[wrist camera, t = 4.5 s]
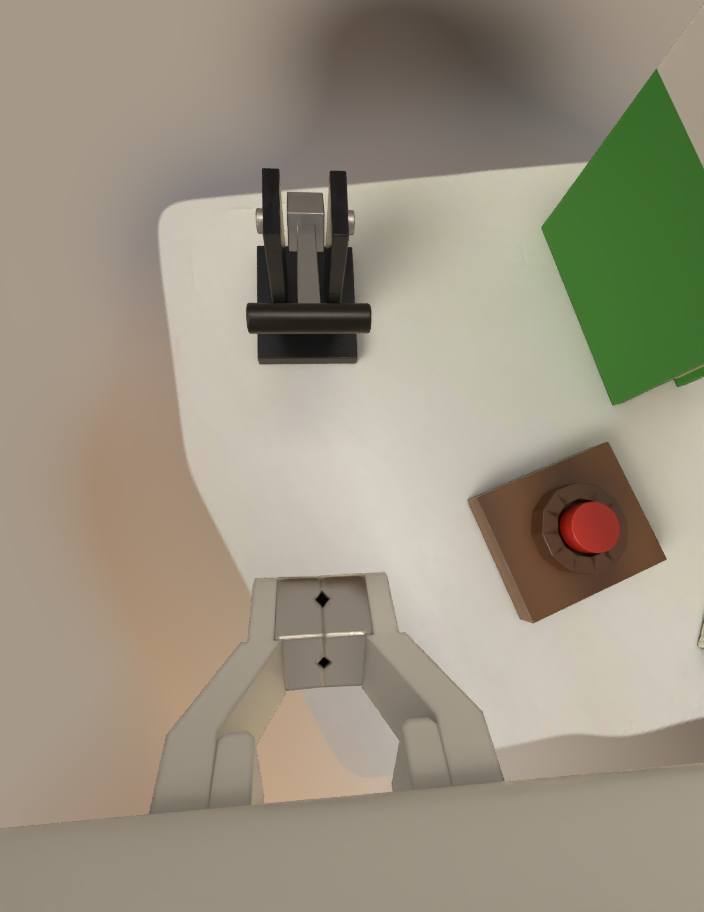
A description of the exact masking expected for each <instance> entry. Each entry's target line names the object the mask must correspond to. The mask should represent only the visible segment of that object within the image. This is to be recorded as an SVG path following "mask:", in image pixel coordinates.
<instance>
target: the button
mask: <svg viewBox="0 0 704 912" xmlns="http://www.w3.org/2000/svg"><path fill="white" fill-rule="evenodd" d="M559 528H560V533H561V536H562V538H563V540H564V541H565V543H566V544H567V545H568V546H569V547H570V548H572V549H573V550H575V551H578V552H582V553H603V552H606V551H608V550H610V549H611V548H613V546H614V545H615V544H616V543H617V541H618V539H619V535H620V524H619V520H618V518H617V516H616V514H615V513H614V512H613V511H612V509H610V508H609V507H608V506H606V505H605V504H603V503H600V502H594V501H592V502H585V503H579V504H574V505H572V506H570V507H568V508H567V509H566V510H565V511H564V512H563V514H562V516H561V519H560V524H559Z"/></svg>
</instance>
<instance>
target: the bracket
mask: <svg viewBox="0 0 704 912" xmlns="http://www.w3.org/2000/svg"><path fill="white" fill-rule="evenodd" d="M354 225H355V217H354V211H353V210H348V199H347V177H346V171H330V176H329V194H328V212H327V231H326V247H324V252H317V262H318V277H319V292H320V303H355V296H354V275H353V254H352V247H348V241H349V235H353V234H354ZM256 227H257V232H258V233H259V234H263V239H264V246H257V303H298V275H297V251H289V247H288V246H285V237H284V225H283V212H282V199H281V187H280V175H279V169H271V168H263V169H262V208H257V209H256ZM258 361H259V364H326V363H356V361H357V338H356V333H316V334H258Z"/></svg>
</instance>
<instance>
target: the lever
mask: <svg viewBox="0 0 704 912" xmlns="http://www.w3.org/2000/svg"><path fill="white" fill-rule="evenodd" d="M287 226H288V247H289V251H297V275H298V303H248V304H247V307H246V319H247V328H248V332H249V333H250V334H316V333H369V332H370V329H371V307H370V304H368V303H320V292H319V277H318V262H317V252H324V203H323V194H322V193H310V192H287Z"/></svg>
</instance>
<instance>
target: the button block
mask: <svg viewBox="0 0 704 912" xmlns="http://www.w3.org/2000/svg"><path fill="white" fill-rule="evenodd" d="M592 501H594V502H600V503H603V504H605V505H606V506H608V507H609V508H610V509H612V511H613V512H614V513H615V514H616V516H617V518H618V520H619V524H620V535H619V539H618V541H617V543H616V544H615V545H614V546H613V548H611V549H610V550H608V551H606V552H603V553H582V552H578V551H575V550H573V549H572V548H570V547H569V546H568V545H567V544H566V543H565V541H564V540H563V538H562V536H561V533H560V528H559V524H560V519H561V516H562V514H563V512H564V511H565V510H566V509H567V508H568V507H570V506H572V505H574V504H579V503H585V502H592ZM468 503H469V505H470V508H471V510H472V512H473V514H474V516H475V519H476V521H477V523H478V525H479V528H480V530H481V532H482V534H483V537H484V539H485V541H486V543H487V546H488V548H489V550H490V552H491V554H492V557H493V559H494V561H495V563H496V566H497V568H498V570H499V572H500V575H501V577H502V579H503V581H504V584H505V586H506V588H507V590H508V592H509V595H510V597H511V599H512V601H513V604H514V606H515V608H516V610H517V613H518V615H519V617H520V619H522V620H525V621H528V622H531V623H535V622H537V621H539V620H541V619H543V618H545V617H547V616H550V615H552V614H554V613H556V612H558V611H560V610H562V609H564V608H566V607H568V606H571V605H573V604H575V603H577V602H579V601H581V600H583V599H585V598H587V597H589V596H591V595H594V594H596V593H598V592H600V591H602V590H604V589H606V588H608V587H610V586H612V585H614V584H617V583H619V582H621V581H623V580H625V579H627V578H629V577H631V576H633V575H635V574H637V573H640V572H642V571H644V570H646V569H648V568H650V567H652V566H654V565H656V564H658V563H660V562H663V561H665V560H667V558H666V556H665V554H664V552H663V550H662V548H661V546H660V544H659V542H658V540H657V538H656V536H655V534H654V532H653V530H652V529H651V527H650V525H649V523H648V521H647V519H646V517H645V515H644V513H643V511H642V509H641V507H640V505H639V503H638V501H637V499H636V497H635V495H634V493H633V491H632V489H631V487H630V485H629V483H628V481H627V479H626V477H625V475H624V473H623V471H622V469H621V467H620V465H619V463H618V461H617V459H616V457H615V455H614V453H613V451H612V449H611V447H610V445H609V443H608V442H606V443H603V444H600V445H597V446H595V447H592V448H589V449H587V450H585V451H582V452H580V453H578V454H575V455H573V456H571V457H568V458H566V459H563V460H561V461H559V462H556V463H554V464H552V465H549V466H547V467H545V468H542V469H540V470H537V471H535V472H533V473H530V474H528V475H526V476H523V477H521V478H519V479H516V480H514V481H512V482H509V483H507V484H504V485H502V486H500V487H497V488H495V489H493V490H490V491H488V492H486V493H483V494H481V495H478V496H476V497H474V498H471V499H469V500H468Z"/></svg>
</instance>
